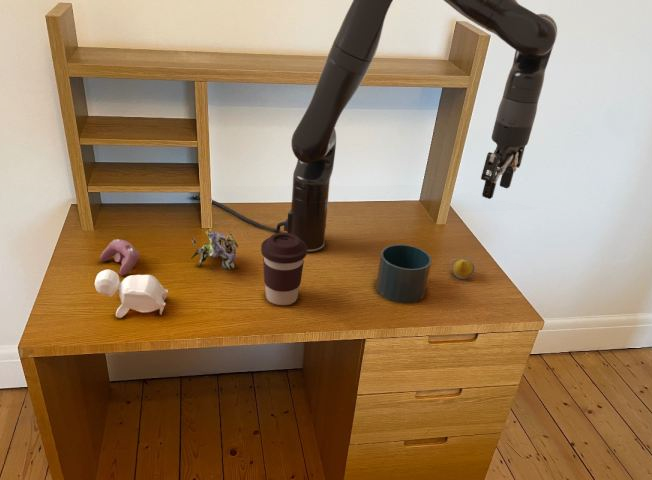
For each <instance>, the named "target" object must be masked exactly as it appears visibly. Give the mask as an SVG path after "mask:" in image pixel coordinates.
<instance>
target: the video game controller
mask: <svg viewBox="0 0 652 480" xmlns="http://www.w3.org/2000/svg"><path fill="white" fill-rule="evenodd" d="M113 257H114V261H115V262H116V263H121V266H120V268H119V270H118V275H120V276H122V277H123V276H126V275H127V274H129V273H130V272H131V271H132V270H133V268H134V267H135V265H136V264H137V263H138V262H139V260H140V253H139V251H138V250H137V249H135V247H134V246H133V244H131V243H130V242H128V241H127V240H124V239H120V238H119V239H118V238H117V239H113V240H112V241H110V242H109V243H108V245H107V246H106V248H105V249H104V250H103V251H102V252H101V254H100V256H99V261H100V262H102V263H105V262H107V261H109V260H111V258H113Z"/></svg>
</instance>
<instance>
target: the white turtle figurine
mask: <svg viewBox="0 0 652 480" xmlns="http://www.w3.org/2000/svg"><path fill="white" fill-rule="evenodd" d="M119 275H120V274H119V273H117V272H115V271H114V270H112V269H109V268H108V269H104V270H101V271H100V272H99V273H97V274H96V277H95V280H94V287H95V290H96V292H97V293H98V294H100V295H104V296H107V297H110V298H111V297H113V296H114V295H115V294H116V293H117V292H118V298H119V300H120V302H121V304H120V305H119V307H117V309H116V312H115V318H118V319H121V318H123V317H124V316H126V314H128V312H129V311H130V310H133V311H136V312H139V313H152V312H155V311H157V310H159V315H162V314H163V311H164V308H165V306H166V302H165V300H166V297H167V296H168V293H169V290H168V288H167V289H166V288H164V286H163V285H162V284H161V283H160V281H159V280H158V279H157V277H156V276H154V275H152V274H132V275H128V276H126V277H125V278H123V280H122V281H120V276H119Z"/></svg>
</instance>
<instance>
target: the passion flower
mask: <svg viewBox="0 0 652 480" xmlns="http://www.w3.org/2000/svg"><path fill="white" fill-rule="evenodd" d="M205 235H206V236H207V238H208V240H209V243H208V244H207V243H206V242H205V243H203V245H202V246H201V248H198V246H197V245H196V238H195V237H193V238H191V243H192V244H193V246H194V247H195V248H196V250H195V252H194V253H193V254H192V255H191V256H190V259H194V258H195V257H196V256H198V255H199V254H200V256H199V257H200V258H199V264H198V267H200V266H201V265H202V263H204V262H206V261H207V258H214V259H215V258H219V257H220V258H221V261H222V262H221V264H222V268H223V269H224V270H227V271H229V272H230V271H231V269H232V270H234V269H235V264H234V262H235V261H236V254H237V253H236V252H237V248H238V247H239V246H238V242H237V241H236V240H235V239H234V237H233V234H232V233H228V234H226V235H224V234H223V233H221V231H218V232H215V231H213V229H212V227H211V228H209V231H208V230H205Z"/></svg>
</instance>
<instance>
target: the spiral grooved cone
mask: <svg viewBox="0 0 652 480" xmlns="http://www.w3.org/2000/svg"><path fill="white" fill-rule="evenodd" d="M451 272H452V274H453V276H454V277H455V278H456V279H459V280H468V279H470V278H471V277H472V276H473V275H474V272H475V265H474V262H473V261H472V260H471V259H469V258H468V257H458V258H457V259H456V260H454V262H453V263H452V265H451Z"/></svg>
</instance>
